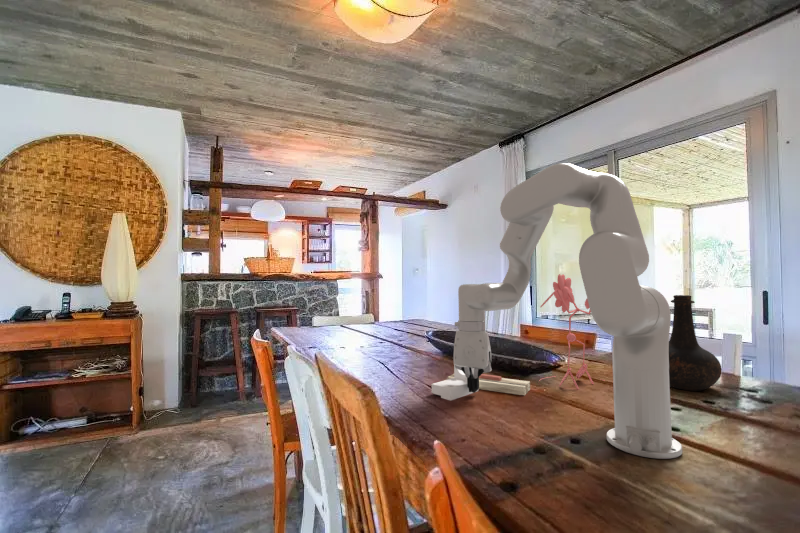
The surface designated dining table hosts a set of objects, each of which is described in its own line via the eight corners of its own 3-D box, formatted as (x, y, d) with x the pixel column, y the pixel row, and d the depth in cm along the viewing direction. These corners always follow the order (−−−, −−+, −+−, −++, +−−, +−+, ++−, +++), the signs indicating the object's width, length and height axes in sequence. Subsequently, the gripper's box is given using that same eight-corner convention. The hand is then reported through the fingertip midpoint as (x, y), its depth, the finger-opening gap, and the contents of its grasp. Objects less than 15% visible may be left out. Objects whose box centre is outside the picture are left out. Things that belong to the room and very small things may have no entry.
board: (524, 395, 109) (524, 386, 109) (447, 384, 121) (447, 376, 121) (530, 389, 115) (529, 381, 115) (456, 379, 127) (456, 372, 127)
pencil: (501, 379, 117) (501, 376, 117) (499, 380, 116) (499, 377, 116) (460, 373, 125) (460, 370, 125) (458, 374, 124) (458, 371, 124)
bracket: (459, 387, 119) (459, 363, 119) (478, 392, 114) (478, 366, 114) (431, 396, 110) (431, 369, 111) (450, 401, 105) (450, 374, 105)
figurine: (608, 380, 124) (602, 273, 126) (566, 395, 108) (560, 273, 110) (564, 372, 136) (559, 275, 138) (520, 385, 121) (515, 275, 123)
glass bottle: (637, 379, 125) (633, 294, 126) (692, 379, 125) (689, 293, 126) (673, 395, 107) (669, 296, 109) (739, 395, 107) (734, 295, 108)
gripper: (443, 326, 110) (444, 390, 110) (493, 329, 103) (494, 398, 102) (453, 324, 117) (454, 384, 116) (501, 326, 109) (503, 391, 108)
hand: (473, 390), depth 109 cm, fingers closed
